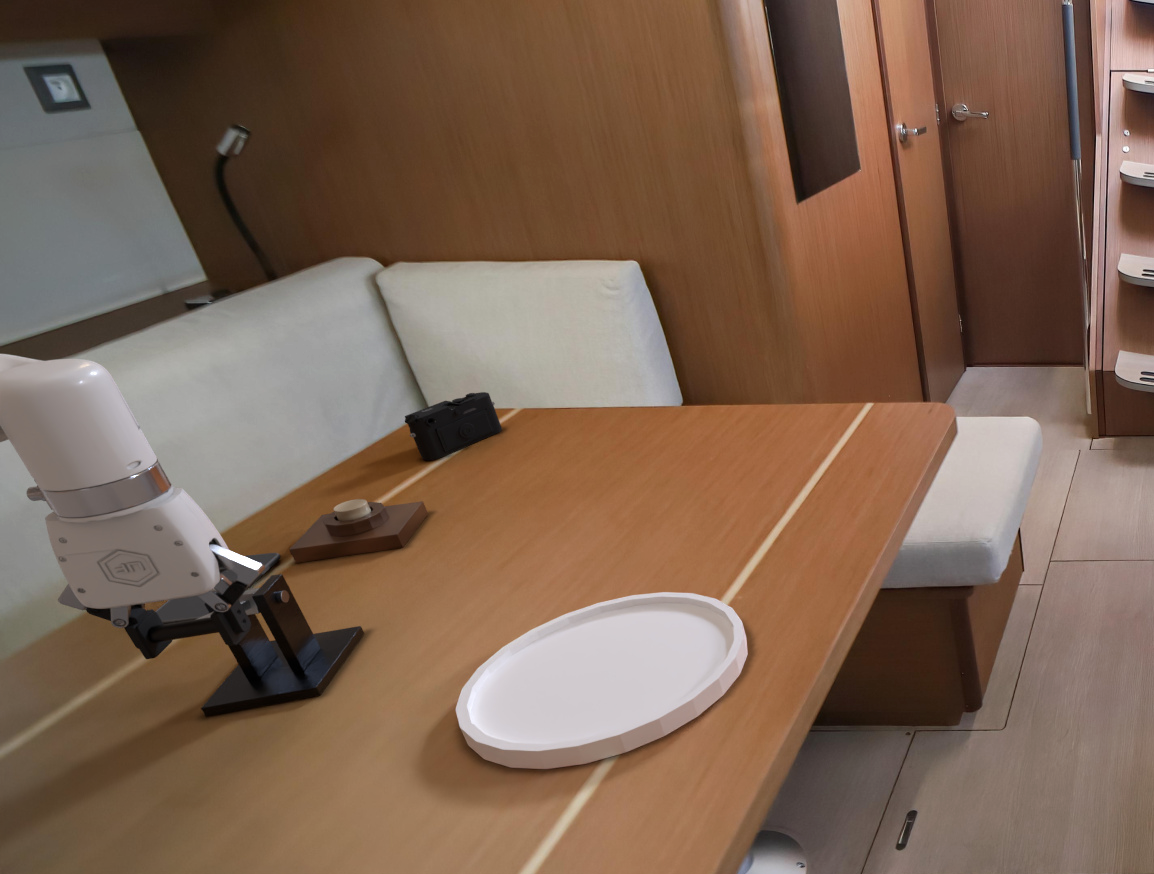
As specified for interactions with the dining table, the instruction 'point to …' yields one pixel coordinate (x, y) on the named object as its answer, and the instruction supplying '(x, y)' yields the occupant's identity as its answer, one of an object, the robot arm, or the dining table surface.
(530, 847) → the dining table surface
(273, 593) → the bracket
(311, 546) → the button box
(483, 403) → the camera
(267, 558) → the smartphone
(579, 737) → the plate
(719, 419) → the dining table surface
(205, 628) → the lever
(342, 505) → the button
